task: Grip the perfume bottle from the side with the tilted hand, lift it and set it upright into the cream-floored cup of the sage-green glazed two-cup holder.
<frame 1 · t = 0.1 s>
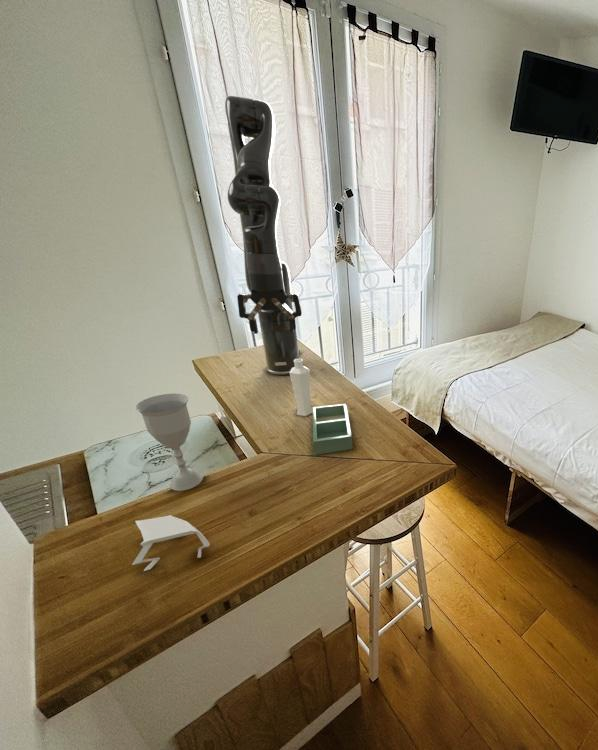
hand: (274, 332, 106), 17 cm above the countertop, tool pointing down, fingers open, 8 cm apart
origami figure: (175, 552, 64), on the countertop
holder: (332, 433, 96), on the countertop
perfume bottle: (305, 412, 104), on the countertop
chalice: (187, 482, 78), on the countertop
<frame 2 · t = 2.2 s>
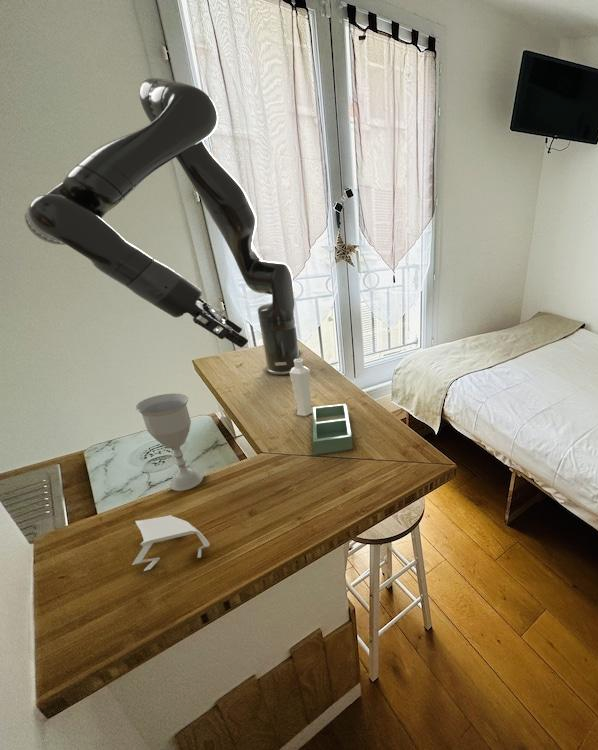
hand: (242, 337, 88), 22 cm above the countertop, tool tilted 45°, fingers open, 8 cm apart
nothing on the countertop moved.
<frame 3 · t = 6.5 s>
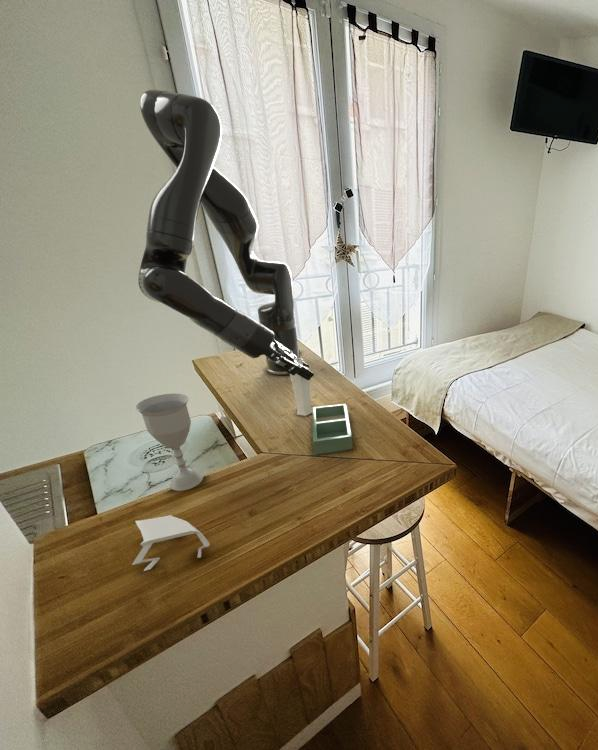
hand: (308, 372, 100), 11 cm above the countertop, tool tilted 45°, fingers closed on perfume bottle, 4 cm apart
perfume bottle: (305, 412, 104), on the countertop, touching gripper
everything else where it was.
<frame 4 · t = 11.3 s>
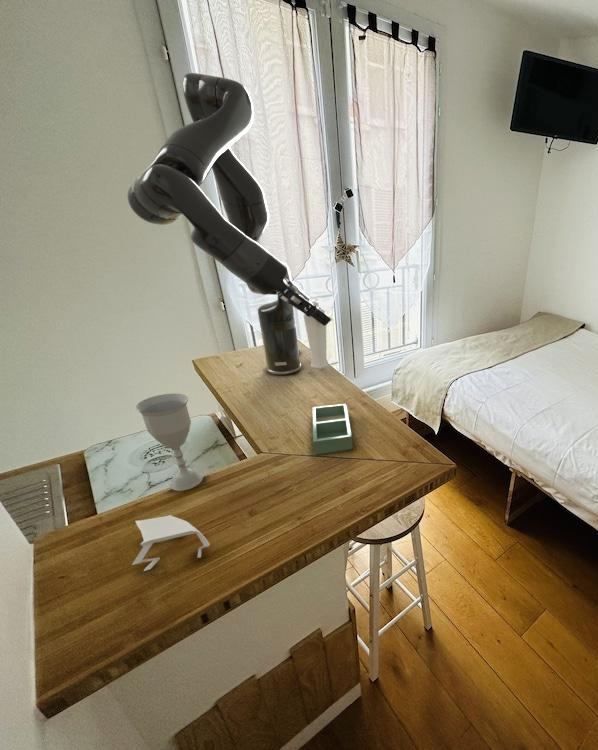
hand: (324, 318, 89), 28 cm above the countertop, tool tilted 45°, fingers closed on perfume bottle, 4 cm apart
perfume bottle: (320, 365, 93), point 16 cm above the countertop, touching gripper
everything else where it was.
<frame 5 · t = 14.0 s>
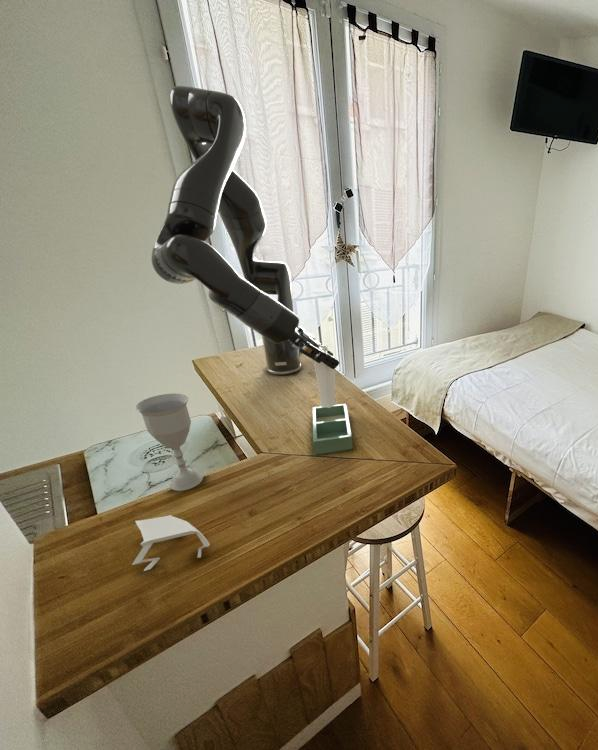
hand: (333, 361, 93), 18 cm above the countertop, tool tilted 45°, fingers closed on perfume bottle, 4 cm apart
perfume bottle: (328, 404, 97), point 6 cm above the countertop, touching gripper
everything else where it was.
when the fingers open (12 cm above the countertop, at t = 16.0 s): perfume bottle stays where it is, resting on holder.
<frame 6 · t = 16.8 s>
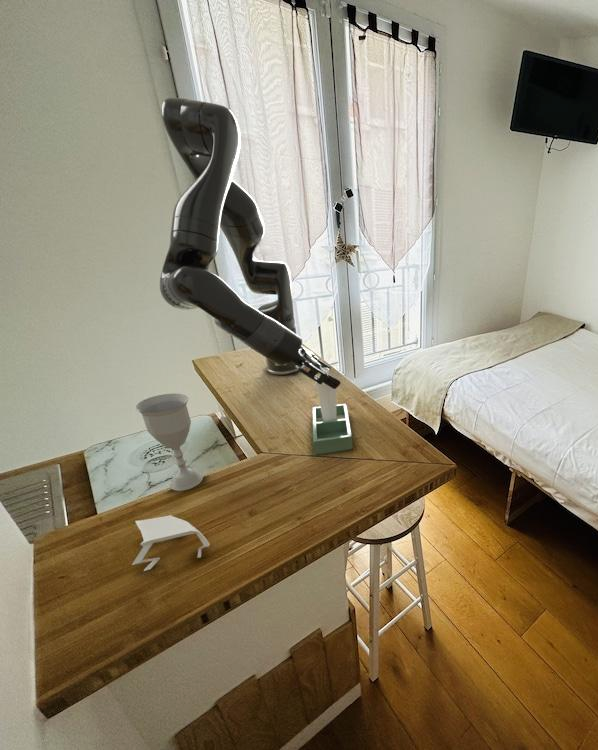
hand: (332, 377, 95), 13 cm above the countertop, tool tilted 45°, fingers open, 8 cm apart
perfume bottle: (330, 423, 99), point 1 cm above the countertop, touching holder
everything else where it was.
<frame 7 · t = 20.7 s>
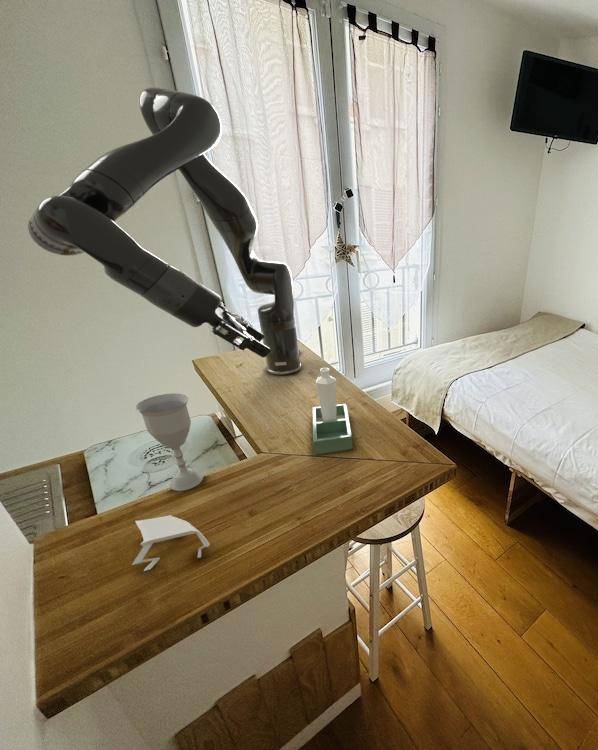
hand: (264, 346, 83), 23 cm above the countertop, tool tilted 45°, fingers open, 8 cm apart
nothing on the countertop moved.
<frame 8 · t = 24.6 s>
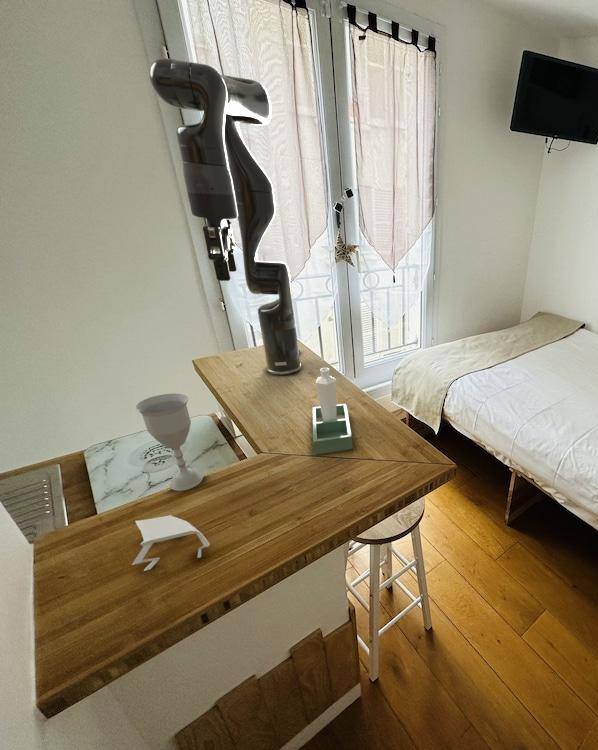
hand: (227, 275, 82), 36 cm above the countertop, tool pointing down, fingers open, 8 cm apart
nothing on the countertop moved.
at the end: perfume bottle 0.2 cm from the target spot in the holder, point 0.6 cm above the holder's base; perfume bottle tilted 0°; the gripper is holding nothing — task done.
